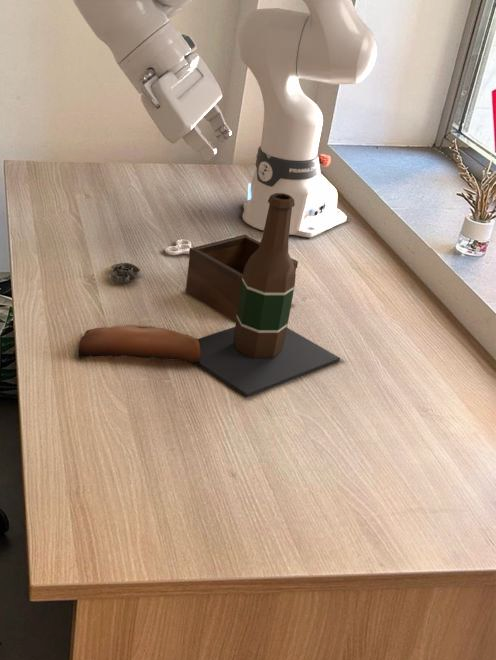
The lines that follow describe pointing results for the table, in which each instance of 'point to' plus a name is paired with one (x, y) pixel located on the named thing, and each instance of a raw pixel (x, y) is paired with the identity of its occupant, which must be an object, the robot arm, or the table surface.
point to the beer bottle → (267, 286)
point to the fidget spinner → (179, 247)
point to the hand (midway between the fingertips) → (219, 147)
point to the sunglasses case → (139, 343)
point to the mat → (260, 362)
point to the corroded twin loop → (123, 273)
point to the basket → (220, 272)
